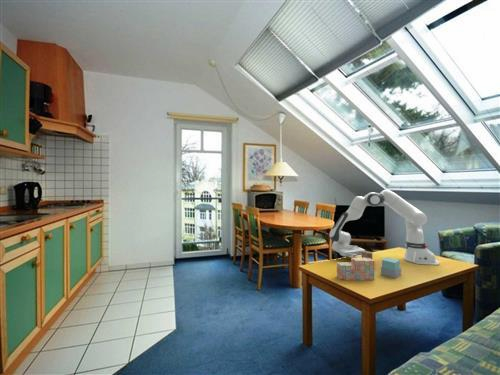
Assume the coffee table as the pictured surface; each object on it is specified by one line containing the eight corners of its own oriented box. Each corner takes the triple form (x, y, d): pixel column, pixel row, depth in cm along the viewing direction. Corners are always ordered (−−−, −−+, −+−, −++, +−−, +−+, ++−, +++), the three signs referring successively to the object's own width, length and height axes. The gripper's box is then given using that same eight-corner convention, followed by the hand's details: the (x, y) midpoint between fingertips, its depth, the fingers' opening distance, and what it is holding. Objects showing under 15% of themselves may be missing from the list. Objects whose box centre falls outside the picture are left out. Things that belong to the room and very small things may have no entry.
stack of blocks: (340, 280, 155) (340, 260, 155) (336, 276, 162) (336, 257, 161) (374, 280, 156) (374, 260, 156) (369, 276, 162) (369, 257, 162)
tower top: (386, 264, 170) (386, 257, 170) (399, 267, 164) (399, 260, 164) (381, 267, 165) (381, 259, 165) (395, 270, 159) (395, 262, 159)
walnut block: (367, 264, 185) (367, 251, 184) (372, 266, 180) (372, 253, 180) (361, 265, 183) (361, 251, 183) (366, 267, 178) (366, 253, 178)
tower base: (386, 271, 171) (386, 264, 171) (400, 275, 164) (401, 267, 164) (380, 274, 165) (380, 267, 165) (395, 278, 158) (395, 270, 158)
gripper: (336, 247, 199) (348, 252, 185) (357, 245, 205) (370, 249, 191) (336, 255, 199) (348, 260, 185) (357, 253, 205) (370, 258, 191)
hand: (359, 255), depth 188 cm, fingers open, 8 cm apart
